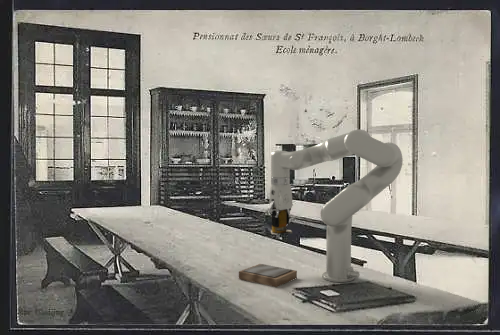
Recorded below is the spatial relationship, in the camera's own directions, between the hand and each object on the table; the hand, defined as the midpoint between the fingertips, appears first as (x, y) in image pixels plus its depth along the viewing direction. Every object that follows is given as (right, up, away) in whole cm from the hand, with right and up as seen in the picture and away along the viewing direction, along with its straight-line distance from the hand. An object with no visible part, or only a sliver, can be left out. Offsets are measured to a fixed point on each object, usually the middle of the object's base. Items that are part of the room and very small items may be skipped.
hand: (280, 224), depth 228 cm
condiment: (0, -3, +1) cm, 3 cm away
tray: (-5, -20, -8) cm, 22 cm away
